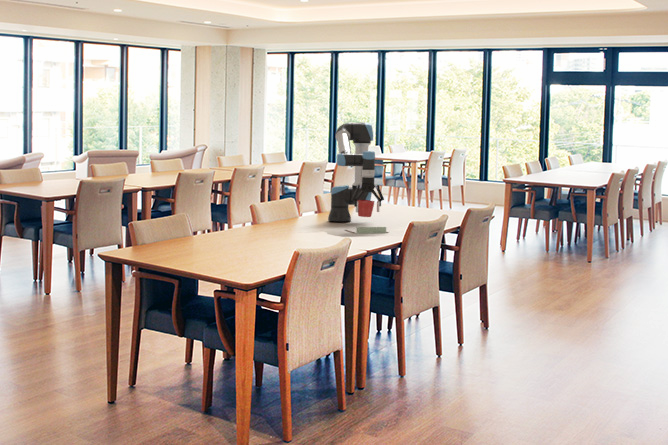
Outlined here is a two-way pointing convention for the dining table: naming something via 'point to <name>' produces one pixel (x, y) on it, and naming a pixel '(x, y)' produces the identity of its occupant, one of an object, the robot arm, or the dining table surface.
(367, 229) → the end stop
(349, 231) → the guide strips
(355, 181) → the robot arm
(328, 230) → the dining table surface
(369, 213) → the flower pot
